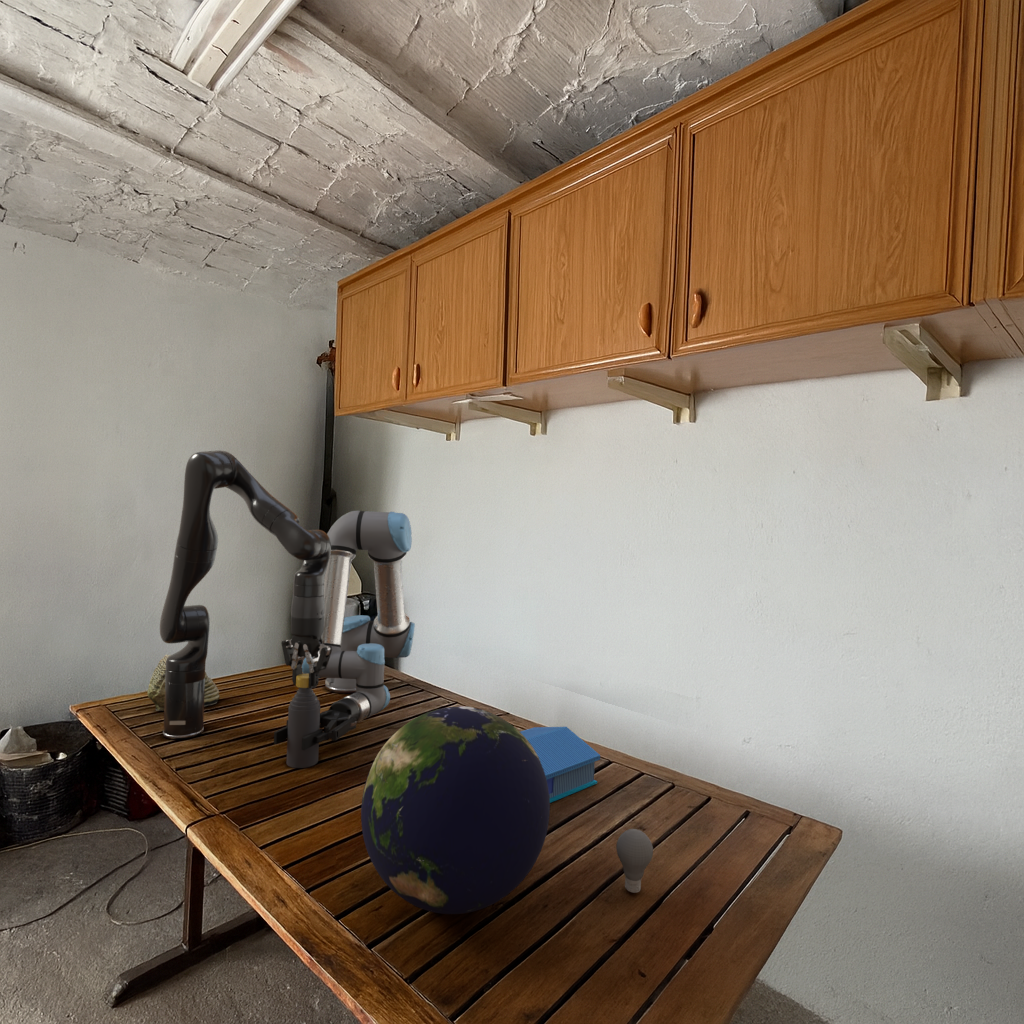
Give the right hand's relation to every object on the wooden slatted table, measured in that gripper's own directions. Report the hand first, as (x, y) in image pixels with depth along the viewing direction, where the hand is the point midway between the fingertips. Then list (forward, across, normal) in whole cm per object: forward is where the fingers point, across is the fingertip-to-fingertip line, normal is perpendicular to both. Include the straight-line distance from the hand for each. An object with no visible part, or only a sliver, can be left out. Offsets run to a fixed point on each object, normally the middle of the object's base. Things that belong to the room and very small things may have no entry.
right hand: (289, 741), depth 146 cm
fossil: (-21, +55, -7) cm, 59 cm away
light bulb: (+12, -82, -7) cm, 83 cm away
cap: (-5, 0, +14) cm, 14 cm away
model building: (-12, -50, -7) cm, 52 cm away
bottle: (-5, 0, -7) cm, 8 cm away
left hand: (-5, 0, +12) cm, 13 cm away
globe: (+26, -55, -7) cm, 61 cm away
